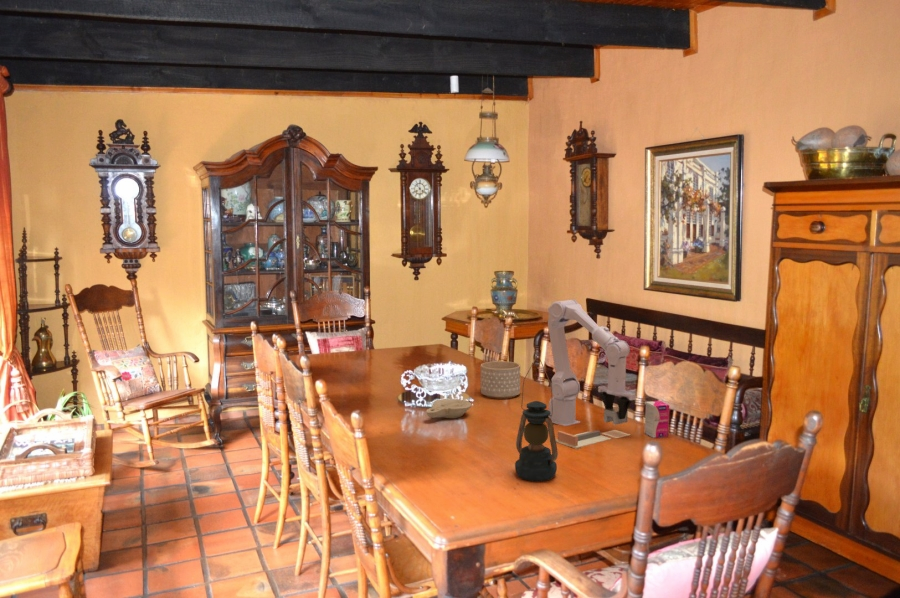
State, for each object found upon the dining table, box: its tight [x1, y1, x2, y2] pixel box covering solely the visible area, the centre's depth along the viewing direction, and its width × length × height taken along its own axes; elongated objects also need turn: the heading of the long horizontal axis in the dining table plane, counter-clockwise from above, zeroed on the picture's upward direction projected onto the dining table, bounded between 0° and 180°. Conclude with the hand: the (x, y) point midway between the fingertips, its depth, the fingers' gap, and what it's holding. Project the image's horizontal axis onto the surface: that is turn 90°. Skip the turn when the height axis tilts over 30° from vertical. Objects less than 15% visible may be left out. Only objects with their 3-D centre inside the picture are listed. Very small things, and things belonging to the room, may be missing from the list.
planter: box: [480, 360, 521, 400], centre depth 304 cm, size 16×16×13 cm
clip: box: [603, 406, 629, 426], centre depth 247 cm, size 5×6×4 cm
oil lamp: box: [425, 398, 472, 419], centre depth 270 cm, size 21×14×5 cm
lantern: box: [514, 354, 559, 483], centre depth 208 cm, size 14×12×35 cm
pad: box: [600, 429, 631, 439], centre depth 248 cm, size 7×7×1 cm
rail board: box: [555, 429, 612, 450], centre depth 241 cm, size 10×16×4 cm, turn 126°
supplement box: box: [644, 400, 670, 439], centre depth 246 cm, size 6×6×12 cm
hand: (615, 416), depth 247 cm, fingers closed on clip, 5 cm apart
